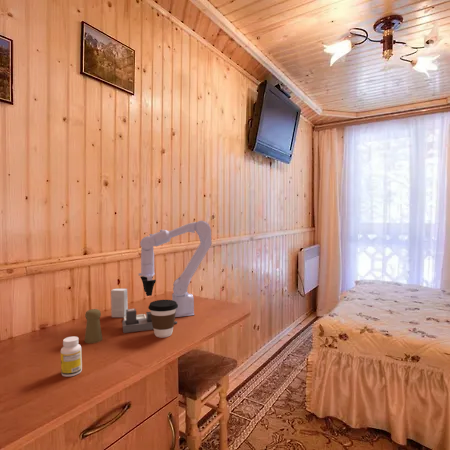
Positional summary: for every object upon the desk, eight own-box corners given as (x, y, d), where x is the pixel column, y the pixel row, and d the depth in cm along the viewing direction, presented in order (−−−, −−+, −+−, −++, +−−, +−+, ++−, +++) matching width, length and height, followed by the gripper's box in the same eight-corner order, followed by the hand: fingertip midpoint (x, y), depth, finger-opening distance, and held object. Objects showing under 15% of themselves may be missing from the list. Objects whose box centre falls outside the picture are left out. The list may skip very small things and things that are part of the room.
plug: (126, 327, 130) (126, 308, 129) (135, 325, 131) (135, 307, 131) (126, 330, 126) (126, 311, 126) (136, 328, 127) (136, 310, 127)
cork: (106, 338, 119) (105, 308, 119) (94, 344, 113) (93, 313, 113) (92, 336, 121) (92, 306, 121) (80, 342, 115) (80, 311, 115)
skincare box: (128, 314, 147) (127, 288, 147) (124, 317, 143) (123, 290, 142) (115, 314, 148) (114, 288, 147) (111, 317, 143) (110, 290, 143)
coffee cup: (183, 332, 125) (183, 301, 124) (165, 342, 115) (165, 308, 115) (161, 327, 130) (161, 297, 129) (142, 336, 120) (142, 304, 120)
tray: (145, 316, 144) (145, 314, 144) (146, 321, 137) (146, 318, 137) (123, 318, 141) (123, 316, 141) (124, 324, 134) (124, 321, 134)
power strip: (175, 320, 138) (175, 307, 138) (179, 326, 132) (178, 312, 131) (122, 327, 131) (122, 313, 131) (123, 332, 124) (123, 318, 124)
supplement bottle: (65, 368, 95) (65, 335, 95) (84, 367, 96) (84, 335, 96) (57, 377, 90) (57, 342, 90) (78, 376, 91) (77, 342, 90)
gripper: (136, 261, 150) (137, 290, 151) (140, 266, 137) (140, 298, 137) (152, 260, 153) (152, 289, 153) (157, 265, 139) (157, 296, 139)
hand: (148, 293), depth 145 cm, fingers open, 7 cm apart
